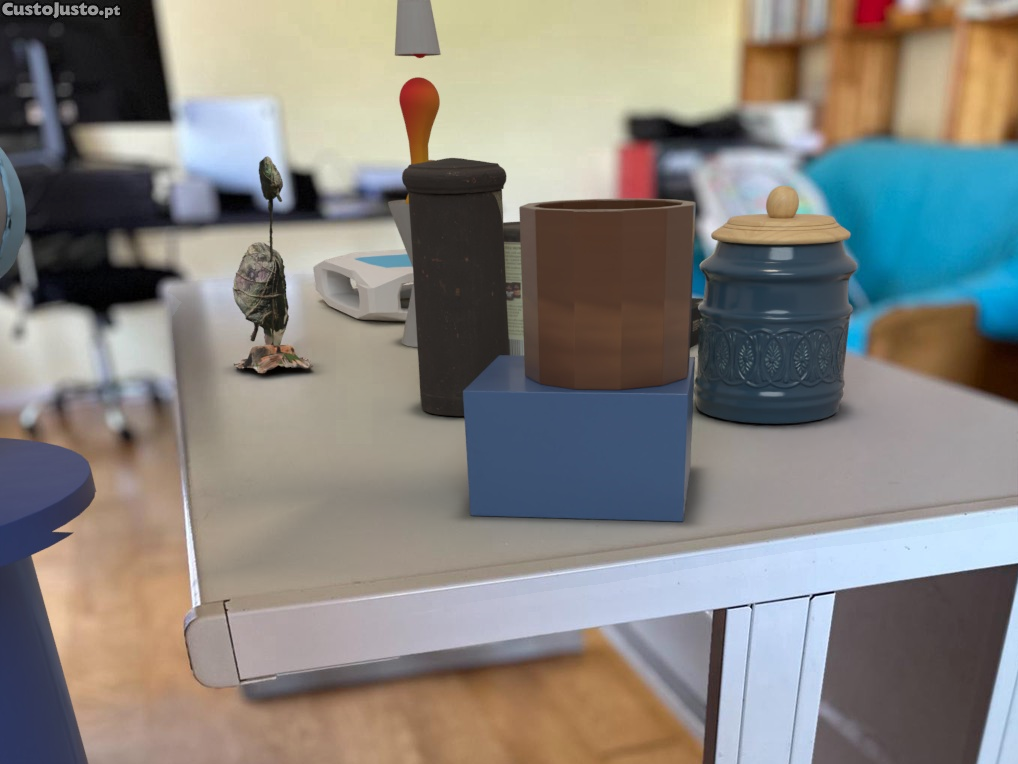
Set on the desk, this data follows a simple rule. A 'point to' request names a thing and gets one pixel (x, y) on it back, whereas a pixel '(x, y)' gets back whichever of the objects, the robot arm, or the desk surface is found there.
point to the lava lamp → (415, 116)
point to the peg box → (576, 447)
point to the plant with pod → (266, 290)
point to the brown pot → (607, 292)
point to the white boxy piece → (367, 284)
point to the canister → (774, 316)
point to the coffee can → (514, 287)
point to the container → (457, 275)
